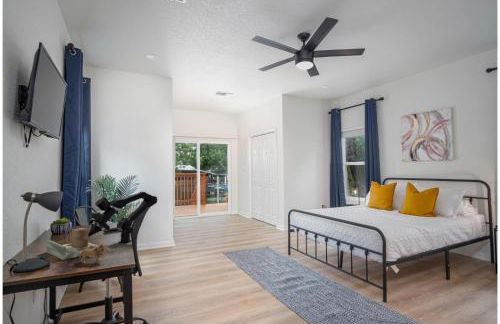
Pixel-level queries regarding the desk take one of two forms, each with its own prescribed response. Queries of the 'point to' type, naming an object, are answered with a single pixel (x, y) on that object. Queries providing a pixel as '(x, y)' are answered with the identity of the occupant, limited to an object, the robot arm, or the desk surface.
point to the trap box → (66, 250)
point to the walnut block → (79, 238)
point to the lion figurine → (93, 253)
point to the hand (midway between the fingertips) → (87, 236)
